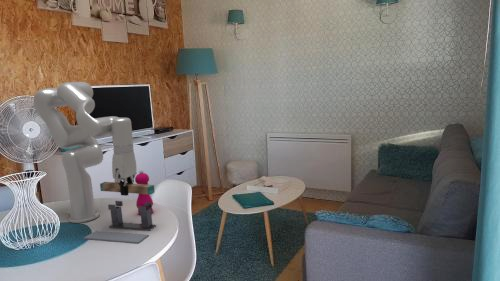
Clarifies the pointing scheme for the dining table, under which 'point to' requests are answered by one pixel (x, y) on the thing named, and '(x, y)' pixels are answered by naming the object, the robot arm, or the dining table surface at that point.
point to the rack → (118, 223)
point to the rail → (131, 188)
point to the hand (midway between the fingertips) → (127, 193)
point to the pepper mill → (143, 198)
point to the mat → (117, 237)
